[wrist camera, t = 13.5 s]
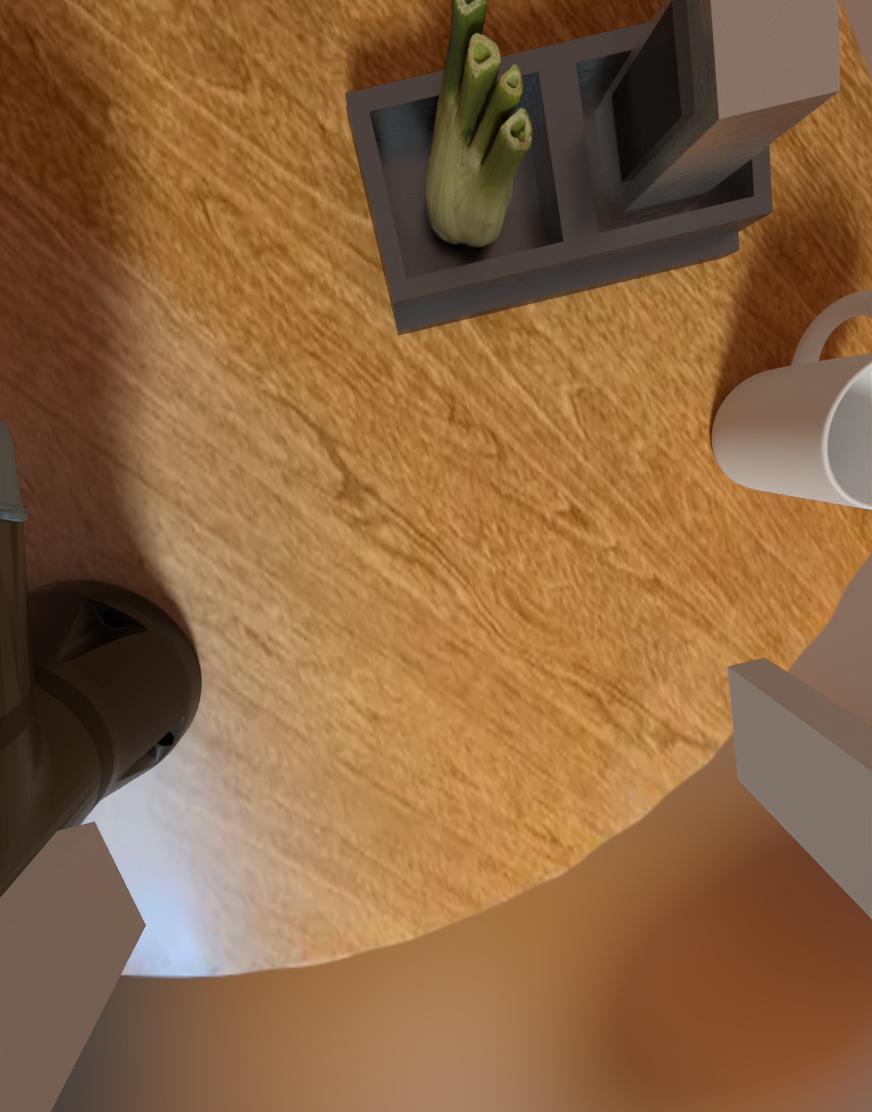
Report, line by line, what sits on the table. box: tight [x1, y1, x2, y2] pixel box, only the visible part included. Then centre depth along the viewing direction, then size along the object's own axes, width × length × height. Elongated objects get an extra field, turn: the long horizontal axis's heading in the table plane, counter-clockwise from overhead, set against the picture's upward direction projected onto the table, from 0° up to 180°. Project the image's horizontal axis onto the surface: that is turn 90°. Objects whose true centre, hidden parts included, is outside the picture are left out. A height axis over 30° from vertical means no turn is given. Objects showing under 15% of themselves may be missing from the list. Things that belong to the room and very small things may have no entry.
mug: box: [711, 289, 872, 510], centre depth 31 cm, size 12×8×10 cm
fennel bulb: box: [425, 0, 533, 248], centre depth 24 cm, size 6×5×12 cm
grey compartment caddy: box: [345, 0, 840, 335], centre depth 25 cm, size 22×12×12 cm, turn 103°
